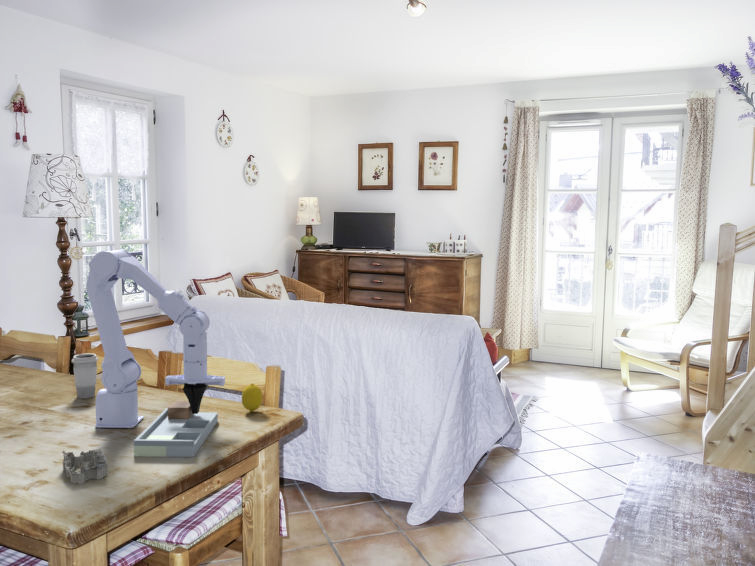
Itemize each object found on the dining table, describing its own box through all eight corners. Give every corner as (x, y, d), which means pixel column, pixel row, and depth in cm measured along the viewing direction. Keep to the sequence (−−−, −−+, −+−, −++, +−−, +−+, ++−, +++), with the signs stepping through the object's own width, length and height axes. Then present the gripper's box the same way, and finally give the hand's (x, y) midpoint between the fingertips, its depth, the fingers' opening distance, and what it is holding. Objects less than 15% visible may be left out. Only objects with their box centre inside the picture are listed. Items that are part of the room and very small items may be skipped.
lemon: (257, 416, 161) (257, 387, 160) (238, 414, 162) (238, 385, 161) (265, 409, 166) (265, 381, 165) (246, 408, 167) (246, 380, 166)
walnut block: (168, 419, 150) (167, 407, 149) (174, 412, 155) (173, 401, 154) (188, 419, 150) (188, 407, 150) (193, 412, 155) (193, 401, 155)
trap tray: (134, 456, 133) (133, 440, 132) (167, 420, 155) (166, 407, 155) (193, 456, 133) (193, 441, 133) (217, 421, 156) (217, 408, 155)
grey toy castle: (60, 468, 126) (60, 449, 126) (99, 460, 130) (99, 442, 130) (69, 487, 117) (68, 467, 117) (110, 478, 122) (109, 459, 121)
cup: (91, 391, 179) (90, 351, 178) (104, 395, 175) (103, 355, 174) (67, 396, 173) (66, 356, 172) (80, 401, 169) (78, 359, 168)
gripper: (160, 363, 147) (161, 417, 148) (220, 364, 147) (220, 418, 149) (169, 356, 154) (170, 408, 155) (226, 357, 154) (227, 408, 156)
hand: (195, 412), depth 152 cm, fingers closed
